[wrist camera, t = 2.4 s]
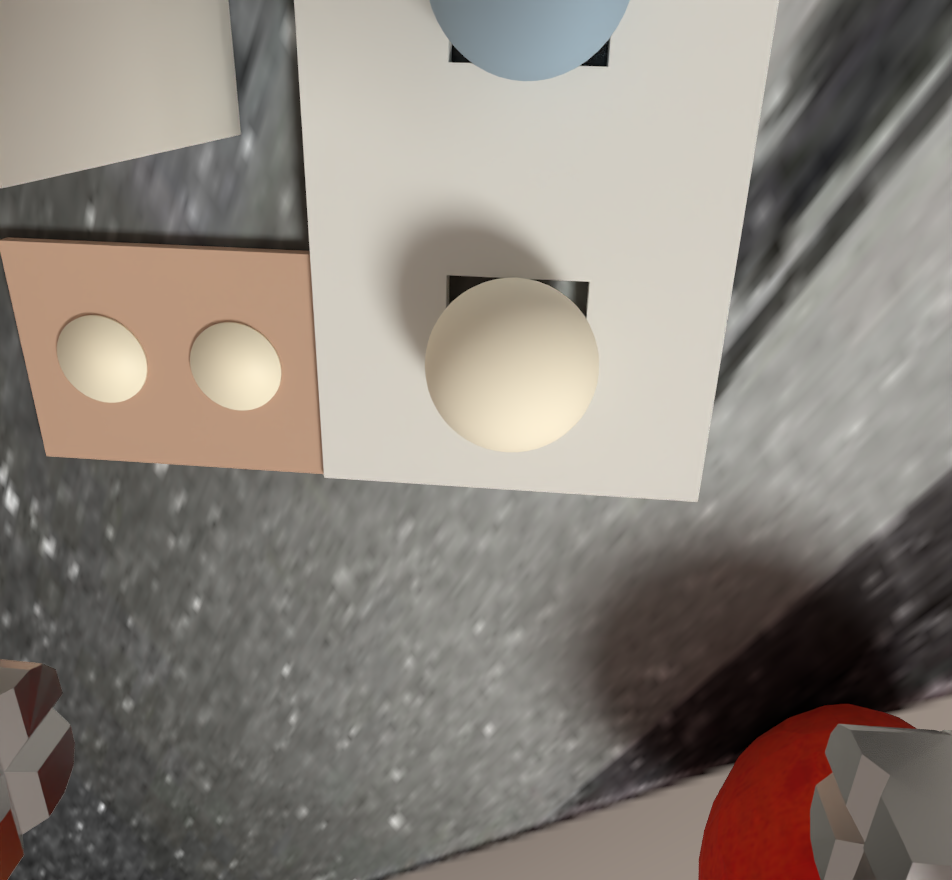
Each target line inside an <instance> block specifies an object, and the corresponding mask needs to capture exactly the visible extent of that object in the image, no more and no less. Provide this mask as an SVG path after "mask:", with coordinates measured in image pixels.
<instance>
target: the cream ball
mask: <svg viewBox="0 0 952 880" xmlns="http://www.w3.org/2000/svg"><path fill="white" fill-rule="evenodd" d="M425 376H426V382H427V386H428V391H429V393H430V396H431V399H432V401H433V403H434V405H435V407H436V409H437V411H438V412H439V414H440V415H441V416H442V418H443V419H444V421H445V422H446V423H447V424H448V425H449V426H450V427H451V428H452V429H453V430H454V431H455V432H456V433H457V434H459V435H460V436H462V437H463V438H464V439H466V440H468V441H470V442H471V443H473V444H475V445H478V446H480V447H483V448H486V449H490V450H494V451H500V452H524V451H530V450H534V449H538V448H541V447H543V446H546V445H548V444H550V443H552V442H554V441H556V440H557V439H559V438H560V437H562V436H563V435H565V434H566V433H567V432H568V431H569V430H570V429H572V428H573V427H574V426H575V425H576V424H577V422H578V421H579V420H580V419H581V418H582V416H583V415H584V413H585V412H586V410H587V409H588V406H589V404H590V402H591V400H592V398H593V396H594V393H595V390H596V386H597V382H598V376H599V354H598V347H597V344H596V340H595V337H594V334H593V332H592V329H591V327H590V325H589V323H588V321H587V319H586V318H585V316H584V315H583V313H582V312H581V311H580V309H579V308H578V307H577V306H576V305H575V304H574V303H573V302H572V301H571V300H570V299H569V298H568V297H566V296H565V295H563V294H562V293H561V292H559V291H558V290H556V289H554V288H552V287H551V286H549V285H546V284H544V283H541V282H538V281H534V280H530V279H525V278H500V279H494V280H491V281H487V282H484V283H481V284H479V285H477V286H474V287H472V288H470V289H469V290H467V291H465V292H464V293H462V294H461V295H459V296H458V297H457V298H456V299H455V300H453V301H452V302H451V303H450V304H449V306H448V307H447V308H446V309H445V310H444V311H443V313H442V314H441V316H440V317H439V318H438V320H437V322H436V324H435V325H434V327H433V329H432V332H431V335H430V337H429V340H428V344H427V349H426V354H425Z"/></svg>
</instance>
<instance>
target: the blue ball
mask: <svg viewBox="0 0 952 880" xmlns="http://www.w3.org/2000/svg"><path fill="white" fill-rule="evenodd" d="M429 1H430V4H431V8H432V10H433V12H434V15H435V17H436V19H437V22H438V23H439V25H440V27H441V29H442V30H443V32H444V34H445V35H446V37H447V38H448V39H449V41H450V42H451V43H452V44H453V46H454V47H455V48H456V49H457V50H458V51H459V52H460V53H461V54H462V55H463V56H464V57H465V58H467V59H468V60H469V61H470V62H472V63H473V64H474V65H476V66H477V67H479V68H481V69H483V70H484V71H486V72H488V73H491V74H493V75H496V76H498V77H502V78H506V79H510V80H517V81H539V80H544V79H550V78H553V77H556V76H559V75H562V74H565V73H567V72H569V71H571V70H573V69H575V68H577V67H578V66H580V65H581V64H583V63H584V62H586V61H587V60H588V59H590V58H591V57H592V56H593V55H594V54H595V53H596V52H598V51H599V50H600V49H601V47H602V46H603V45H604V44H605V43H606V42H607V41H608V40H609V38H610V37H611V35H612V34H613V32H614V31H615V30H616V28H617V27H618V25H619V23H620V21H621V19H622V17H623V16H624V14H625V11H626V9H627V6H628V4H629V1H630V0H429Z"/></svg>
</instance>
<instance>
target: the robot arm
mask: <svg viewBox="0 0 952 880" xmlns="http://www.w3.org/2000/svg"><path fill="white" fill-rule="evenodd" d="M62 694H63V692H62V689H61V685H60V682H59V679H58V676H57V672H56V669H55V668H52V667H50V666H47V665H45V664H41V663H31V662H21V661H12V660H2V659H0V880H8V878H9V877H10V875H11V874H12V872H13V871H14V869H15V868H16V866H17V865H18V863H19V862H20V860H21V859H22V857H23V856H24V848H23V837H22V834H24V833H25V832H27V831H28V830H30V829H31V828H33V827H35V826H36V825H38V824H39V823H41V822H42V821H44V820H45V819H47V818H48V817H50V815H51V813H52V812H53V810H54V809H55V807H56V806H57V804H58V802H59V801H60V799H61V798H62V796H63V795H64V793H65V790H66V787H67V784H68V781H69V778H70V775H71V772H72V769H73V766H74V749H75V742H74V738H73V733H72V729H71V725H70V724H69V723H68V722H67V721H66V720H65V719H64V718H63V717H62V716H61V715H60V714H59V713H58V712H57V711H56V710H55V709H54V708H53V707H54V706H55V704H56V703H57V701H58V700H59V698H60V697H61V695H62ZM825 754H826V757H827V759H828V762H829V764H830V767H831V769H832V772H833V773H831V774H830V775H829V776H827V777H826V778H825V779H823V780H822V781H821V782H819V783H818V784H817V785H816V786H815V791H814V795H813V799H812V804H811V808H810V839H811V844H812V850H813V855H814V860H815V864H816V867H817V870H818V873H819V876H820V879H821V880H952V731H949V730H948V731H947V730H943V731H940V732H939V731H936V730H924V729H910V728H895V727H880V726H865V725H850V724H838V725H837V726H836V727H835V729H834V730H833V731H832V732H831V734H830V737H829V740H828V744H827V747H826V750H825Z"/></svg>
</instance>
